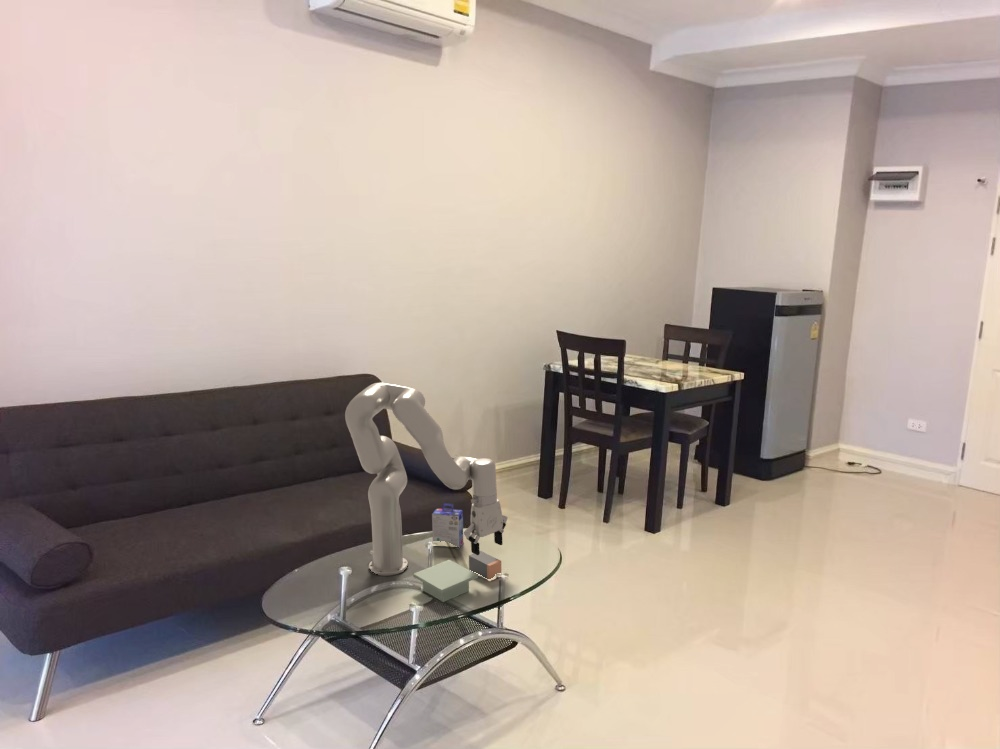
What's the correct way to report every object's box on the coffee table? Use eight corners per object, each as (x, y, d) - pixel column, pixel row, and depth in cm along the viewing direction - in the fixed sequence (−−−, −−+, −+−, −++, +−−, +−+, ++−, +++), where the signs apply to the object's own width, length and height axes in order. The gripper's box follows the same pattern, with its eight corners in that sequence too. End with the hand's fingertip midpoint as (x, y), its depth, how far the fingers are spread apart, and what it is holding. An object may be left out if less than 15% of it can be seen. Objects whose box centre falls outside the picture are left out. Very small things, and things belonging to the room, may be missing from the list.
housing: (469, 571, 260) (468, 555, 258) (480, 566, 263) (480, 550, 262) (489, 582, 252) (489, 565, 251) (501, 576, 256) (501, 560, 254)
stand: (413, 590, 248) (413, 573, 246) (449, 575, 257) (449, 559, 255) (442, 607, 237) (441, 590, 236) (478, 591, 247) (477, 574, 245)
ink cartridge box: (464, 542, 280) (463, 503, 277) (460, 549, 275) (459, 509, 272) (436, 540, 282) (435, 501, 279) (432, 546, 277) (431, 507, 274)
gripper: (471, 509, 243) (474, 561, 247) (513, 493, 254) (515, 543, 258) (455, 502, 249) (458, 554, 253) (497, 487, 260) (499, 536, 264)
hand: (487, 548), depth 255 cm, fingers open, 9 cm apart
